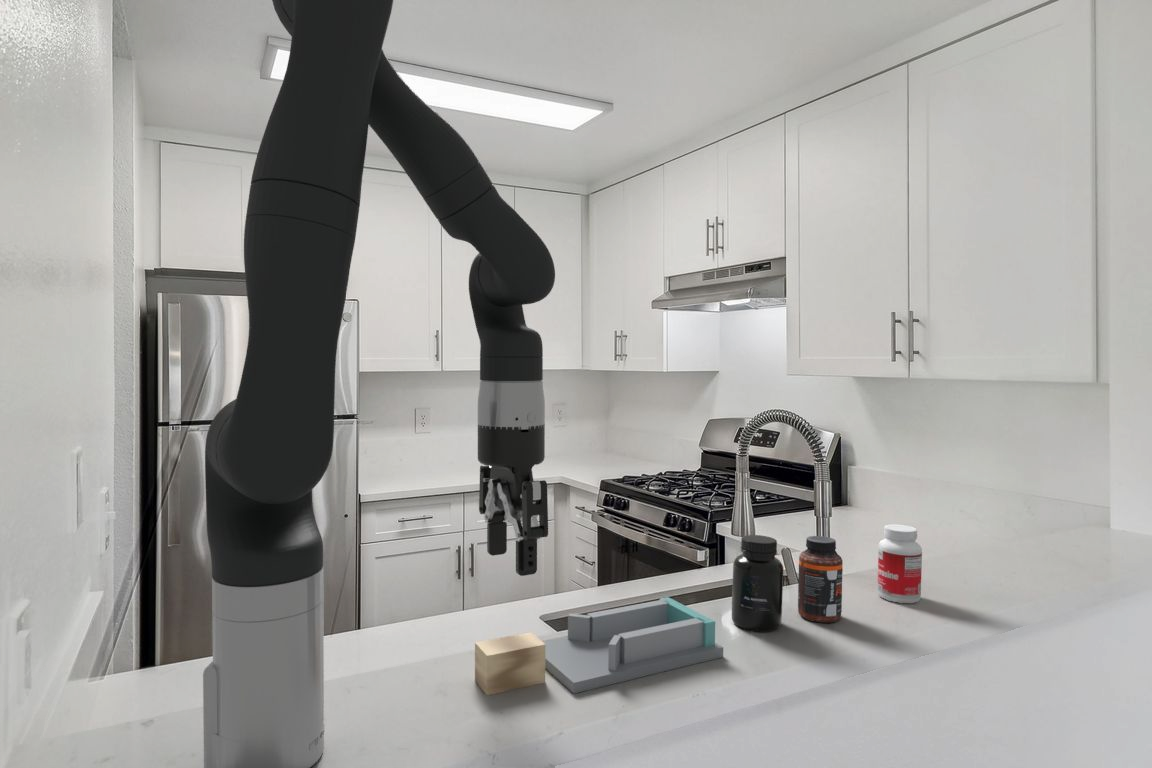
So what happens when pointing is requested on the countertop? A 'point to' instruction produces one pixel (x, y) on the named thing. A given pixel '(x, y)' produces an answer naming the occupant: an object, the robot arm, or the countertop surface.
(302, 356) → the robot arm
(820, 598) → the supplement bottle
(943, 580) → the countertop surface
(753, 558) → the supplement bottle
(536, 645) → the beech block
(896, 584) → the pill bottle
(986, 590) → the countertop surface
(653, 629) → the guide board
